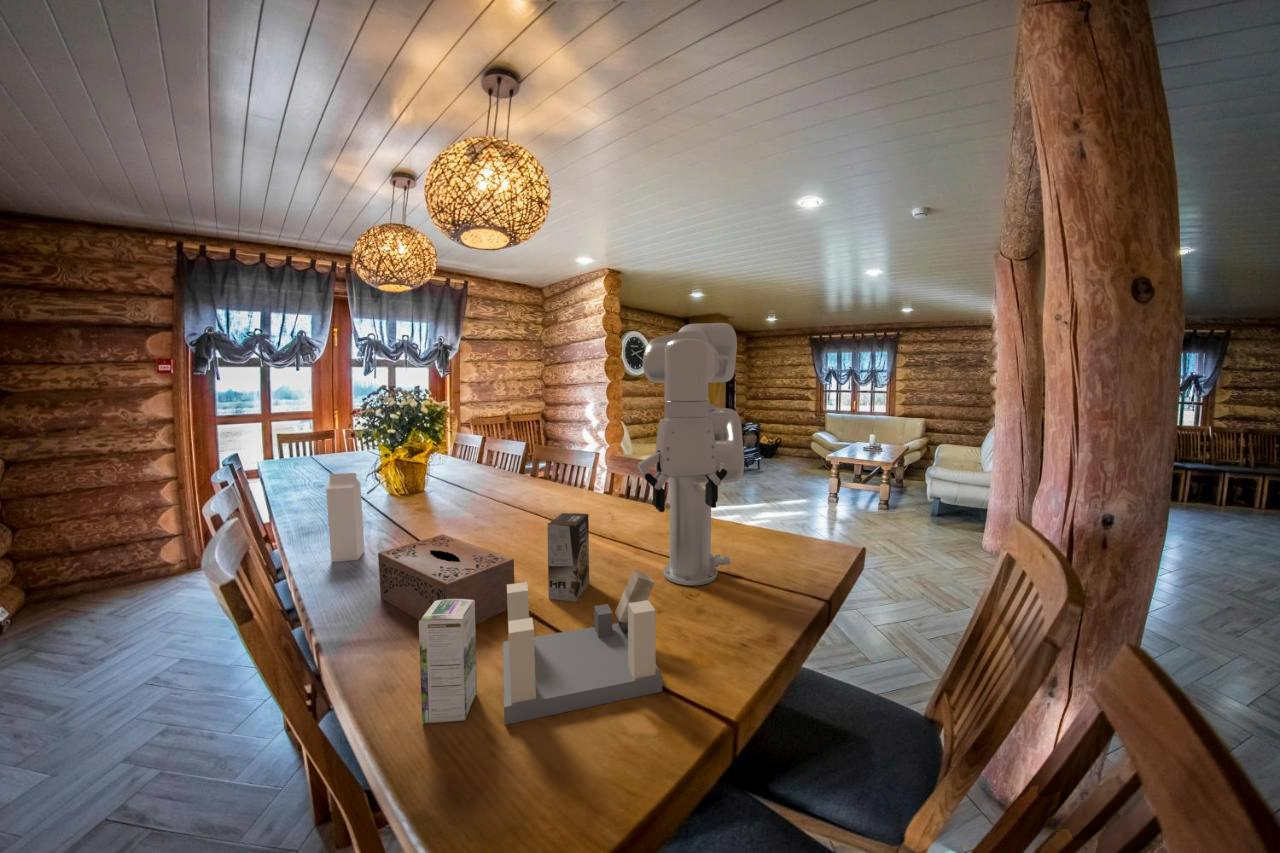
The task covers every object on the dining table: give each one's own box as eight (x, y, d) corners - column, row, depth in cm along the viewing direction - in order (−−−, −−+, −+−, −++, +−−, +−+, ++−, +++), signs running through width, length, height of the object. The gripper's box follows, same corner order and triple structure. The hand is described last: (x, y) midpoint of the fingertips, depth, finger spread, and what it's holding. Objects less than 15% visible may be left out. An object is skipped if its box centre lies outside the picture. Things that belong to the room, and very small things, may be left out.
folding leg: (627, 624, 82) (648, 574, 82) (632, 635, 78) (655, 583, 78) (611, 619, 81) (632, 569, 81) (616, 630, 77) (638, 577, 78)
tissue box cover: (380, 598, 97) (378, 552, 96) (444, 575, 108) (442, 534, 107) (449, 638, 82) (446, 584, 81) (515, 606, 93) (513, 559, 92)
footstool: (631, 634, 82) (631, 567, 81) (662, 691, 67) (662, 610, 66) (503, 656, 76) (500, 584, 75) (504, 724, 61) (501, 636, 59)
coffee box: (577, 602, 94) (575, 525, 93) (547, 599, 96) (545, 523, 94) (590, 583, 103) (589, 513, 102) (563, 581, 105) (562, 511, 103)
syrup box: (436, 695, 66) (432, 599, 65) (478, 693, 67) (475, 597, 65) (421, 724, 61) (415, 619, 59) (467, 721, 61) (463, 617, 60)
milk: (357, 560, 117) (352, 475, 115) (330, 562, 116) (324, 476, 114) (365, 551, 123) (360, 470, 121) (339, 554, 122) (333, 471, 119)
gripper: (721, 409, 86) (720, 499, 88) (632, 411, 81) (632, 506, 83) (741, 411, 79) (739, 509, 80) (644, 413, 74) (645, 517, 76)
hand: (685, 508), depth 82 cm, fingers open, 9 cm apart
